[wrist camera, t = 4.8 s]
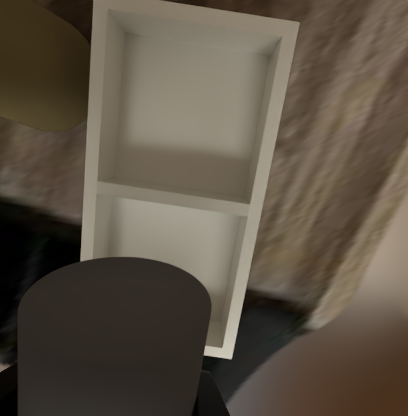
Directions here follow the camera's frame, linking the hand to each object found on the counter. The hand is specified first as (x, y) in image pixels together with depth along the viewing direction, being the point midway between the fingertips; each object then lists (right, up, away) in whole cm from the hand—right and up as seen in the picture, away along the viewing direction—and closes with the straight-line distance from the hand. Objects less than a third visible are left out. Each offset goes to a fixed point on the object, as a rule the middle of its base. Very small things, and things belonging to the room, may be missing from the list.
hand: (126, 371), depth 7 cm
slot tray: (+1, +6, +8) cm, 10 cm away
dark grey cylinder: (0, 0, -1) cm, 1 cm away
